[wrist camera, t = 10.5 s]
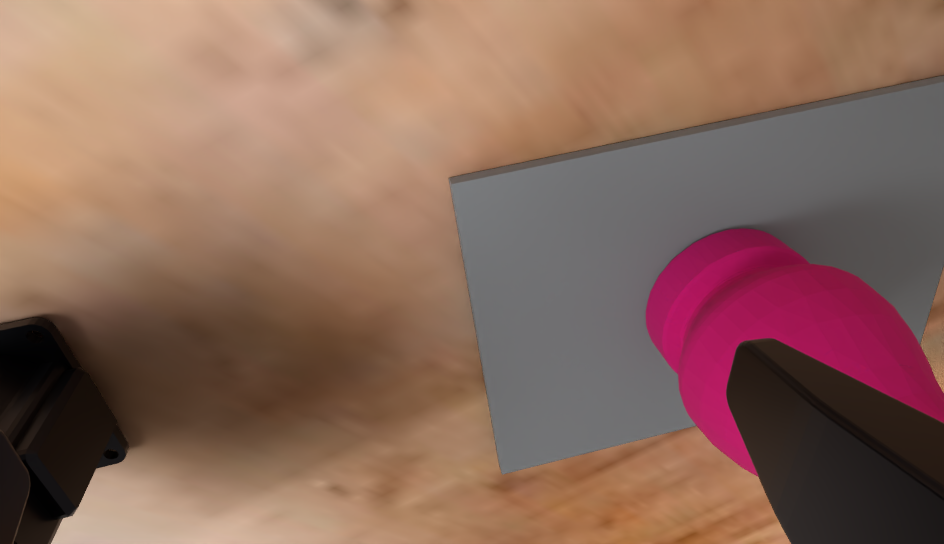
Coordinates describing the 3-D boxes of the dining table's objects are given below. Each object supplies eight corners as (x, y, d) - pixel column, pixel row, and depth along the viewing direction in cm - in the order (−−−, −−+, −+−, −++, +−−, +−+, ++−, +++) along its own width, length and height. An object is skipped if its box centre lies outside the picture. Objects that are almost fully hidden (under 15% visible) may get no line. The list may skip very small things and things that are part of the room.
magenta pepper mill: (781, 178, 22) (2345, 1083, 5) (818, 314, 26) (1775, 1101, 8) (604, 278, 23) (1401, 1362, 6) (665, 396, 26) (1257, 1268, 9)
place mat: (498, 464, 27) (502, 474, 27) (448, 178, 20) (451, 184, 20) (901, 363, 29) (911, 371, 29) (986, 66, 22) (1002, 69, 21)
